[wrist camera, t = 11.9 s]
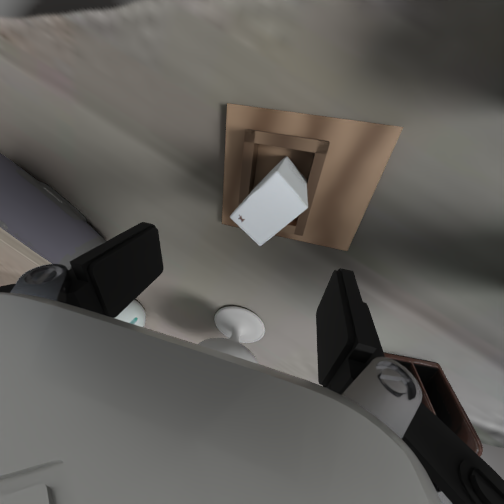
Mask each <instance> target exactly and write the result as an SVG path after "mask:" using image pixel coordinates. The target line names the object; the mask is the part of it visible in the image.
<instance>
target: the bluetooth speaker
mask: <svg viewBox="0 0 504 504" xmlns="http://www.w3.org/2000/svg"><path fill="white" fill-rule="evenodd" d="M0 227H1V228H2V229H4V230H5V231H6V232H8V233H9V234H11V235H12V236H13V237H15V238H16V239H18V240H19V241H20V242H22V243H23V244H25V245H26V246H27V247H29V248H30V249H32V250H33V251H34V252H36V253H37V254H39V255H40V256H42V257H43V258H45V259H46V260H48V261H49V262H51V263H52V264H62V265H64V266H66V267H67V269H68V270H70V269H72V267H71V264H70V261H71V260H73V259H75V258H77V257H79V256H81V255H82V254H84V253H86V252H88V251H90V250H92V249H94V248H95V247H97V246H99V245H101V244H103V243H105V242H106V241H105V240H104V239H103V238H102V237H101V236H100V235H99V234H98V233H97V232H96V231H95V230H94V229H93V228H92V227H91V226H90V225H88V224H87V223H86V218H85V217H84V216H83V215H82V214H81V213H80V212H79V211H78V210H77V209H76V208H75V207H74V206H72V205H71V204H70V203H69V202H68V201H66V200H65V199H64V198H63V197H62V196H61V195H59V194H58V193H57V192H56V191H55V190H53V189H52V188H51V187H49V186H48V185H46V184H45V183H43V182H38V181H37V180H36V179H35V178H33V177H32V176H31V175H30V174H28V173H27V172H25V171H24V170H23V169H21V168H20V167H19V166H18V165H16V164H15V163H14V162H12V161H11V160H10V159H8V158H7V157H5V156H4V155H2V154H1V153H0Z"/></svg>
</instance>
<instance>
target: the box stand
mask: <svg viewBox="0 0 504 504" xmlns="http://www.w3.org/2000/svg"><path fill="white" fill-rule="evenodd" d="M402 129H403V127H398V126H391V125H383V124H376V123H369V122H361V121H354V120H346V119H339V118H332V117H324V116H317V115H310V114H302V113H295V112H287V111H280V110H273V109H265V108H258V107H251V106H243V105H236V104H228V103H227V118H226V141H225V163H224V185H223V207H222V224H225V225H229V226H234V227H238V228H240V227H239V226H238V225H237V224H236V223H235V222H234V221H233V220H232V219H231V218H230V216H231V214H232V213H233V212H234V211H235V209H236V208H237V207H238V206H239V205H240V204H241V203H242V202H243V200H244V199H245V198H246V197H247V196H248V195H249V194H250V192H251V191H252V190H253V189H254V188H255V187H256V186H257V185H258V184H259V183H260V182H261V180H262V179H263V178H264V177H265V176H266V175H267V174H268V173H269V172H270V171H271V170H272V169H273V168H274V167H275V166H276V165H277V164H278V163H279V162H280V161H281V160H282V159H283V158H284V157H285V156H287V157H288V158H289V159H290V160H291V161H292V162H293V164H294V165H295V166H296V167H297V169H298V170H299V171H300V172H301V173H302V175H303V176H304V177H305V178H306V180H307V197H308V208H307V209H306V210H305V211H304V212H302V213H301V214H300V215H299V216H297V217H296V218H295V219H294V220H292V221H291V222H290V223H289V224H287V225H286V226H285V227H284V228H283V229H281V230H280V231H279V232H278V233H277V234H275V236H280V237H284V238H289V239H294V240H298V241H303V242H307V243H312V244H317V245H321V246H326V247H330V248H335V249H340V250H344V251H348V249H349V246H350V244H351V242H352V240H353V238H354V235H355V233H356V231H357V229H358V226H359V224H360V222H361V220H362V218H363V215H364V213H365V211H366V209H367V207H368V204H369V202H370V200H371V198H372V195H373V193H374V191H375V189H376V187H377V184H378V182H379V180H380V178H381V175H382V173H383V171H384V169H385V167H386V164H387V162H388V160H389V158H390V155H391V153H392V151H393V149H394V147H395V144H396V142H397V140H398V138H399V136H400V133H401V131H402Z"/></svg>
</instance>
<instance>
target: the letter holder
mask: <svg viewBox="0 0 504 504" xmlns="http://www.w3.org/2000/svg"><path fill="white" fill-rule="evenodd" d="M384 356H385V357H387V358H391V359H393V360H395V361H397V362H399V363H400V364H401V365H403V366H404V367H405V368H406V369H408V370H409V371H410V372H411V373H412V375H413V376H414V377H415V378H416V380H417V381H418V383H419V385H420V387H421V390H422V395H423V396H422V401H421V402H422V403H423V404H424V405H425V406H426V407H427V408H428V409H429V410H431V411H432V412H433V413H434V414H435V415H436V416H437V417H438V418H439V419H440V420H441V421H442V422H443V423H444V424H445V425H446V426H448V427H449V428H450V429H451V430H452V431H453V432H454V433H455V434H456V435H457V436H458V437H459V438H460V439H461V440H462V441H463V442H465V443H466V444H467V445H468V446H469V447H470V448H471V449H472V450H473V451H474V452H475V453H476V454H477V455H478V456H479V457H480V456H481V455H482V451H483V447H482V444H481V441H480V439H479V437H478V435H477V433H476V431H475V429H474V427H473V426H472V424H471V422H470V420H469V418H468V416H467V414H466V412H465V411H464V409H463V407H462V405H461V404H460V402H459V400H458V398H457V396H456V394H455V392H454V391H453V389H452V387H451V385H450V383H449V382H448V380H447V378H446V376H445V374H444V372H443V370H442V368H441V367H440V365H439V364H438V363H434V362H429V361H424V360H419V359H414V358H409V357H404V356H399V355H394V354H389V353H384Z"/></svg>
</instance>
